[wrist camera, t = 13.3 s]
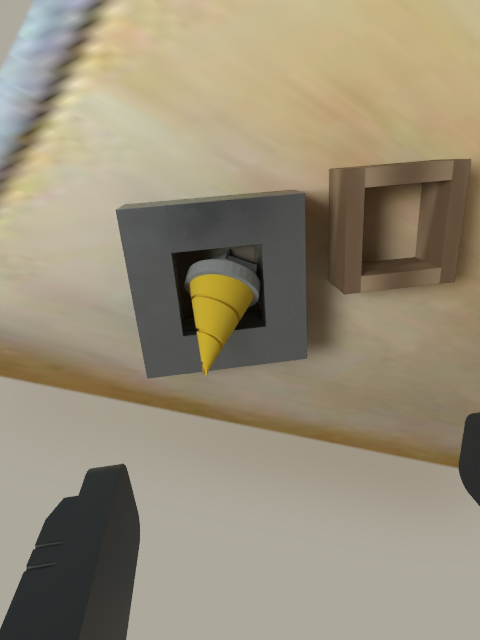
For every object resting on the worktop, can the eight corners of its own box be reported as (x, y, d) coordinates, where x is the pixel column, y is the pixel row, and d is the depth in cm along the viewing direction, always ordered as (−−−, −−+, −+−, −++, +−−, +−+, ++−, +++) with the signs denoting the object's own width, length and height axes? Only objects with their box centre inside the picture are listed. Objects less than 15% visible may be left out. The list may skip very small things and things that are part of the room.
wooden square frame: (439, 159, 29) (471, 158, 26) (428, 270, 32) (454, 281, 29) (329, 169, 28) (347, 169, 25) (328, 281, 31) (344, 294, 28)
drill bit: (272, 267, 31) (255, 390, 27) (210, 270, 33) (184, 385, 28) (254, 222, 26) (230, 361, 22) (183, 228, 28) (148, 358, 24)
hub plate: (291, 189, 29) (305, 192, 25) (295, 339, 33) (307, 358, 30) (124, 204, 28) (115, 209, 24) (151, 356, 32) (147, 378, 29)
